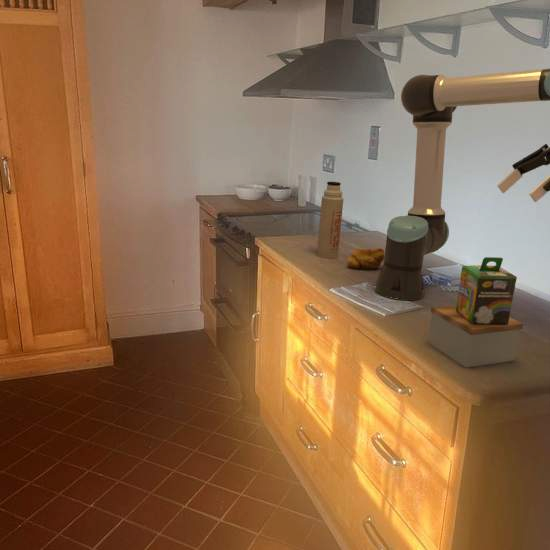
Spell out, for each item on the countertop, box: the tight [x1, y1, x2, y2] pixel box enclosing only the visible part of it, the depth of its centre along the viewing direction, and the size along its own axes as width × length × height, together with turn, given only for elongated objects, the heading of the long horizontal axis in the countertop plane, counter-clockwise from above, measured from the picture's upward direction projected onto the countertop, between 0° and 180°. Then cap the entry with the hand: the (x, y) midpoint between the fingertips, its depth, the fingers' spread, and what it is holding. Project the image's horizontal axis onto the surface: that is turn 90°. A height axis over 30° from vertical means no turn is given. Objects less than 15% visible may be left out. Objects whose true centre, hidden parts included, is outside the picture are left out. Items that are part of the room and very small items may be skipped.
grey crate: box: [427, 312, 521, 368], centre depth 131 cm, size 14×14×8 cm
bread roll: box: [346, 248, 385, 271], centre depth 197 cm, size 13×10×8 cm
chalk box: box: [456, 256, 518, 325], centre depth 126 cm, size 9×9×15 cm
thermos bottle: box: [316, 181, 344, 260], centre depth 206 cm, size 8×8×28 cm
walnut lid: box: [430, 304, 524, 335], centre depth 130 cm, size 15×14×1 cm
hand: (515, 193), depth 142 cm, fingers open, 13 cm apart
